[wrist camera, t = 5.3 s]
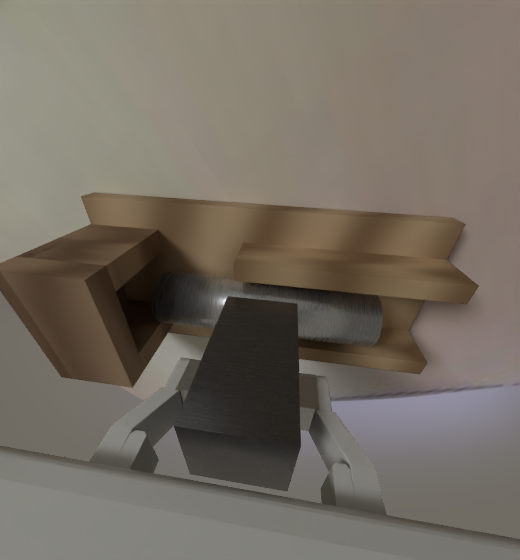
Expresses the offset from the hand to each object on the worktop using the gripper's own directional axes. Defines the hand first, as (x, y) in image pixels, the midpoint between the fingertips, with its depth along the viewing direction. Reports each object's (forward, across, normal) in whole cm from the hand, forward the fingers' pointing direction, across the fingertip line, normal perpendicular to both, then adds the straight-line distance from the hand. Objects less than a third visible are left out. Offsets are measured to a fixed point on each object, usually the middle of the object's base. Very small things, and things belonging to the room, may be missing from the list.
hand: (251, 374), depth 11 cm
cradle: (+8, +1, 0) cm, 9 cm away
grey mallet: (+7, 0, 0) cm, 7 cm away
